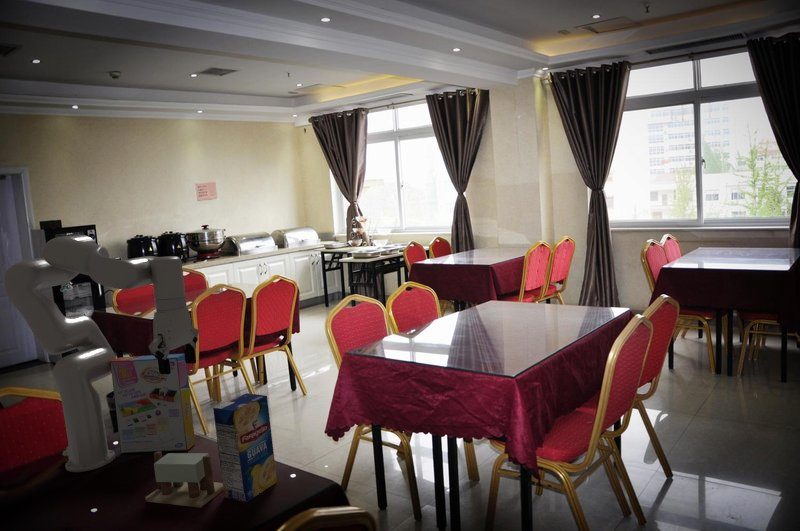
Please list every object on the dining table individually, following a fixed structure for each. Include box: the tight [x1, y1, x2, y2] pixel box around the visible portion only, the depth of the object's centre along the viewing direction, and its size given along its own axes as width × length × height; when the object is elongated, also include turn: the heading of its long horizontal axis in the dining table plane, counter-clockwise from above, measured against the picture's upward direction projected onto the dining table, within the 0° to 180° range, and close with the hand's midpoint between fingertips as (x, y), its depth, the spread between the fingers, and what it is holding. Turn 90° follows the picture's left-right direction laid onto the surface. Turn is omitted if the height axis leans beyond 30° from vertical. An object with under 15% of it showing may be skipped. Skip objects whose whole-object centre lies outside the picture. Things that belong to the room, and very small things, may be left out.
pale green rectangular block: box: [153, 452, 210, 483], centre depth 150 cm, size 11×6×4 cm, turn 78°
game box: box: [110, 353, 196, 454], centre depth 180 cm, size 21×6×27 cm, turn 84°
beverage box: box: [212, 392, 278, 503], centre depth 149 cm, size 7×11×22 cm, turn 149°
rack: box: [145, 451, 224, 508], centre depth 150 cm, size 16×10×10 cm, turn 70°
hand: (178, 368), depth 163 cm, fingers open, 9 cm apart
